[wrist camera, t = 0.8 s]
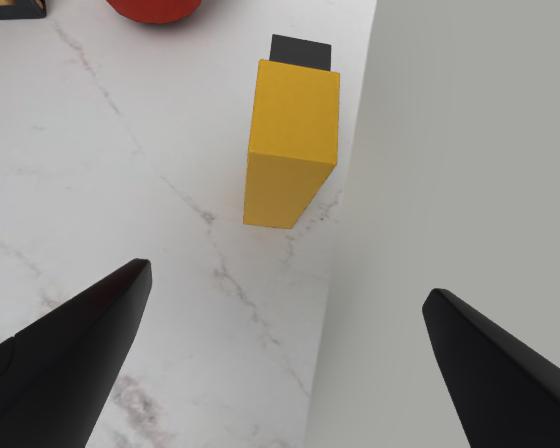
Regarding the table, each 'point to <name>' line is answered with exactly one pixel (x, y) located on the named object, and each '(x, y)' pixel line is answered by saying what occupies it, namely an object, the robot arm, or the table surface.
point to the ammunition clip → (22, 9)
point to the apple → (154, 9)
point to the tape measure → (291, 131)
